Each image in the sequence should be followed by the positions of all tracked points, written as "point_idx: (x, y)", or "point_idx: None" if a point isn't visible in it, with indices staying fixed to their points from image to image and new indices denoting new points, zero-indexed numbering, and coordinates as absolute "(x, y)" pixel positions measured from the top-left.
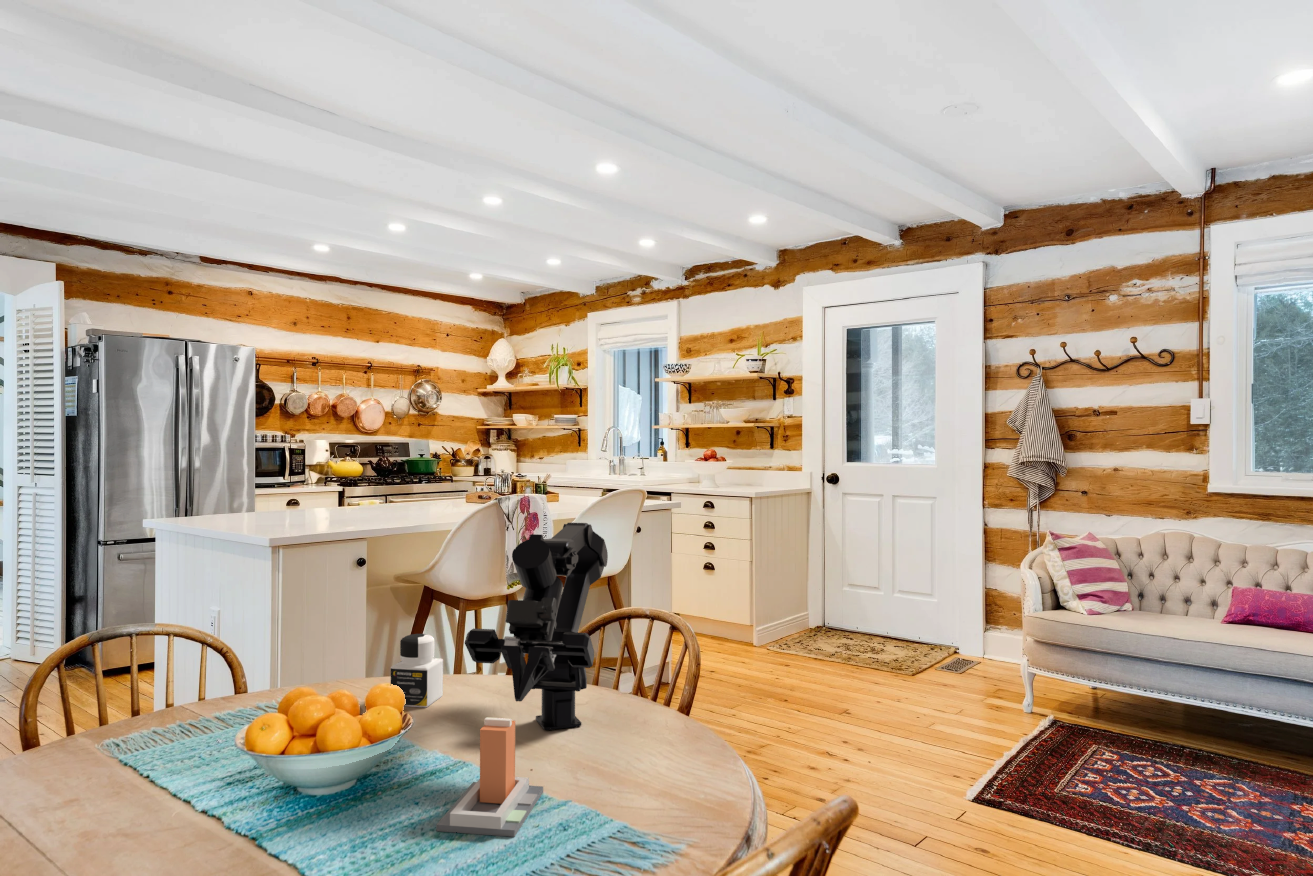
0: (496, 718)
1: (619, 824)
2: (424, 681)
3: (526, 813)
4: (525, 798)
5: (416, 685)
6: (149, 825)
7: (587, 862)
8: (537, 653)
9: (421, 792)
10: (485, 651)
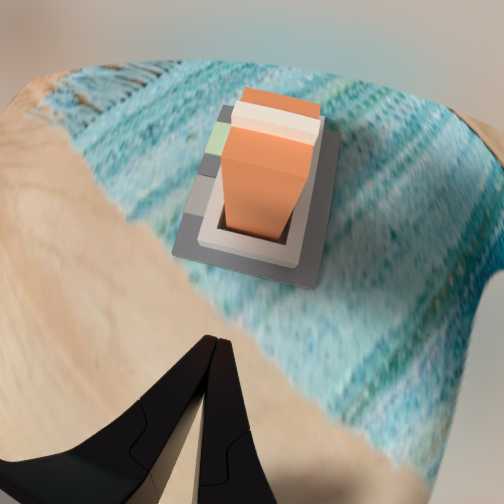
0: (282, 122)
1: (80, 141)
2: None
3: (204, 153)
4: (205, 195)
5: None
6: None
7: (141, 65)
8: (41, 472)
9: (397, 277)
10: None
